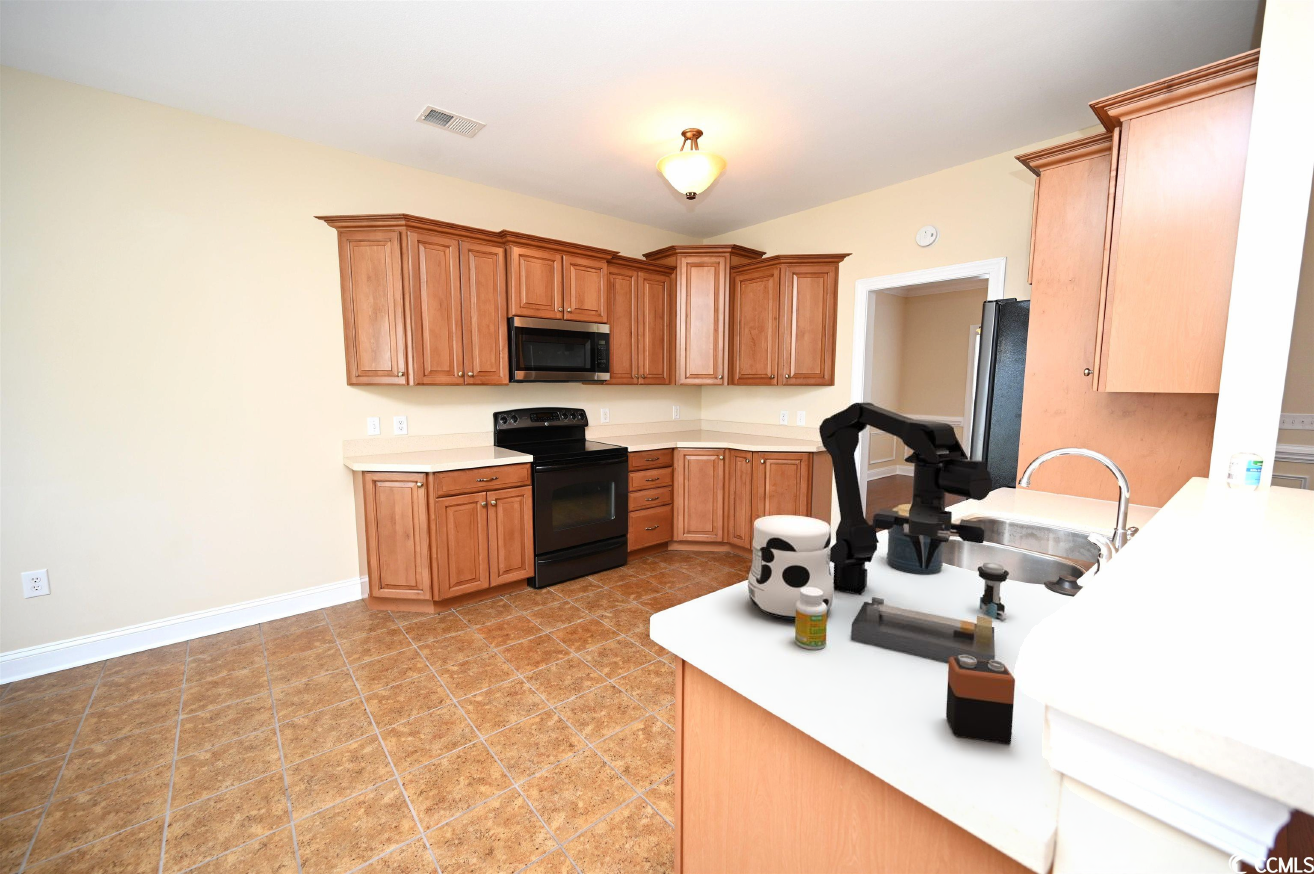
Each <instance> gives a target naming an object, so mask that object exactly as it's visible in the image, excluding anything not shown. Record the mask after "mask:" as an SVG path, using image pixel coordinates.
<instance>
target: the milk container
mask: <svg viewBox="0 0 1314 874" xmlns="http://www.w3.org/2000/svg"><path fill="white" fill-rule="evenodd" d="M831 532H832V530H831V526H830V525H829V523H828V522H826V521H824V520H821V519H817V518H814V517H809V516H803V515H802V516H801V515H790V514H789V515H788V514H787V515H786V514H781V515H778V514H777V515H775V514H773V515H768V516H762V517H759V518H757V519H756V520H754V524H753V531H752V537H753V538H752V539H753V540H752V563H751V568H750V571H749V573H748V577H747V578H748V579H747V590H748V591H747V592H748V595H749V599H750V601H751V603H752V604H753V605H754V606H755V607H756V608H757V609H759V610H760V611H762V612H764V613H766V614H768V615H771V616H774V617H779V618H783V619H792V620H796V603H797V602H798V601H799V600H800V599H801V598H800V589H801V588H804V587H813V588H818V589H820V590H822V591H823V601H822V602H824V603H825V604H826V606H827V612H829V610H830V608H831V607H832V605H833V601H834V596H835V595H834V594H835V590H834V584H833V579H834V578H833V577H832V576H833V575H832V571H831V565H830V564H831V562H830V551H831V547H832V546H831V540H832V533H831Z"/></svg>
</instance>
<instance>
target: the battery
mask: <svg viewBox="0 0 1314 874" xmlns="http://www.w3.org/2000/svg"><path fill="white" fill-rule="evenodd" d="M947 666H948V668H947V688H946V689H947V690H946V693H947V694H946V710H945V717H946V720H947V722H948V724H949V727H950V729H951V732H952V734H953V735H954V736H956V737H958V738H959V737H960V738H966V739H972V740H973V739H974V740H980V741H985V742H986V741H987V742H993V743H999V744H1006V745H1010V744H1011V743H1012V735H1013V719H1014V705H1015V704H1014V702H1015V687H1016V679H1015V677H1014V676H1013V675H1012V673H1011V671H1010V670H1009V669H1008V667H1007V666H1006V665H1005V663H1003V662H1002V661H1001V660H1000V661H999V660H997V659H995V660H990V661H985V660H976V659H975V658H974V657H971V656H968V655H959V656H958V657H950V658H949V663H948V665H947Z"/></svg>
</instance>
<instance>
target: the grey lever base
mask: <svg viewBox="0 0 1314 874" xmlns="http://www.w3.org/2000/svg"><path fill="white" fill-rule="evenodd" d="M884 601H885V599H884V598H880V597H876V596H875V597H874V596H872V597H871V602H869V601H864V602H863V604H862V605H861V607H860V609H859V610H858V612H857V614H856V616H855V617H854V619H853V621H852V622H851V632H850V634H851V636H850V637H851V638H850V640H851V641H854V642H858V643H863V644H866V645H870V646H875V647H879V648H883V649H887V650H893V651H897V652H900V653H905V654H909V655H913V656H918V657H921V658H925V659H930V660H934V661H938V662H942V663H947V664H949V658H950V657H958V656H959V655H968V656H971V657H974V658H975V659H976V660H985V661H990V660H996V655H995V654H996V652H995V650H996V647H995V645H996V644H995V626H993V618H992V617H991V618H990V617H986V616H979V615H976V623H975V622H974V623H975V626H974V634H972V633H967V632H962V631H957V630H953V629H948V628H943V627H938V626H933V625H929V624H924V623H919V622H914V621H910V620H905V619H900V618H895V617H890V616H886V615H881V614H879V612H880V607H875V606H873V604H874V603H875V602H878V603H879V604H883V605H885V603H884Z"/></svg>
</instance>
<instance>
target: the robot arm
mask: <svg viewBox="0 0 1314 874" xmlns="http://www.w3.org/2000/svg"><path fill="white" fill-rule="evenodd" d="M868 426H869V427H872V428H874V429H877V430H879V431H882V432H884V433H887V434H889V435H892V436H894V437H897V438H899V439H900V440H901V442H903V444H904V446H905V447H907V448H908V449H910V450H912V453H911V454H910V455H908V456H907V457H905V459H904V461H905V463H909V464H914V465H913V477H912V478H913V479H912V496H911V501H912V505H911V507H910V509H909V517H903V516H899V512H898V511H894V510H892V509H887V508H886V509H885V508H879V510H877V511H876V512H875V513H874V515H873V517H872V524H870V523H869V522H868V521H867V519H866V517H865V516H864V510H863V503H862V496H861V490H860V483H859V477H858V476H859V475H858V470H857V465H856V458H855V453H856V450H857V448H858V446H859V443H860V433H861V432H864V430H866V429H867V427H868ZM818 430H819V437H820V441H821V444H822V446H823V448H824V450H825V451H826V452H827V453H828V455H830V457H831V461H832V469H833V475H834V483H835V489H836V490H835V491H836V497H837V503H838V509H839V510H838V511H839V516H840V520H839V523H838V524H837V525H838V526H837V528H836V530H835V543H834V544H833V545H832V546H831V551H830V563H832V564H833V578H832V579H833V584H834V591H835V590H836V591H840V592H844V593H845V592H846V593H851V594H855V595H856V594H857V595H861V594H863V591H864V590H866V588H867V586H868V568H866V563H871V562H872V560H873V557H874V555H875V553H876V552H877V550H878V544H879V543H880V541H879V539H878V536H877V529H879V530H886V531H888V530H890V529H891V528H892V527H894V525H898V526H904V527H903V528H904V532H903V536H906V537H908V538H909V539H910V540H911V542H912V544H913V546H914V549H915V552H916V555H917V558H918V562H919V565H920V568H922V569H923V565H924V546H923V536H928V537H930V544H929V549H928V554H927V558H926V565H925V569H928V567H929V565H930V563H931V560H932V558H933V556H934V554H935V552H936V550H937V549H938V547H939V546H940V544H941V543H942V542H943V543H949V541H950V538H951V534H955V535H958V537H959V539H961V540H962V541H963V542H966V543H975V544H984V543H985V542H984V540H985V527H986V525H985V524H984V523H983V522H982V521H979V520H970V519H962V518H961V519H960V521H959V523H955V522H952V521H953V520H952V519H953V518H952V517H953V513H952V511H949V510H946V506H947V505H946V502H947V494H949V495H953V496H957V497H962V498H966V499H970V500H974V501H982V500H984V499H986V498H987V497H988V496H989V495H990V492H991V490H992V487H993V478H992V475H991V473H990V472H989V470H988V469H987V468H986V467H985V466H986V462H985V460H977V459H976V460H973V459H969V457H968V454H966V451H965V449H964V448H963V446H962V445H961V443H960V441H959V438H958V437H957V435H956V432H955V429H954V426H953V425H952V424H950V423H947V422H941V421H933V420H921V419H914V418H911V417H908V416H906V415H903V414H899V413H898V412H894V411H891V410H889V409H886V408H883V407H880V406H877V405H875V404H874V403H872V402H855V403H854V402H853V403H852V404H850V405H849V406H847V408H845V409H843V410H841V411H838V412H836V413H834V414H833V415H830V417H826V418H824V419H823V420H822V422H821V424H820V425H819V427H818Z"/></svg>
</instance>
